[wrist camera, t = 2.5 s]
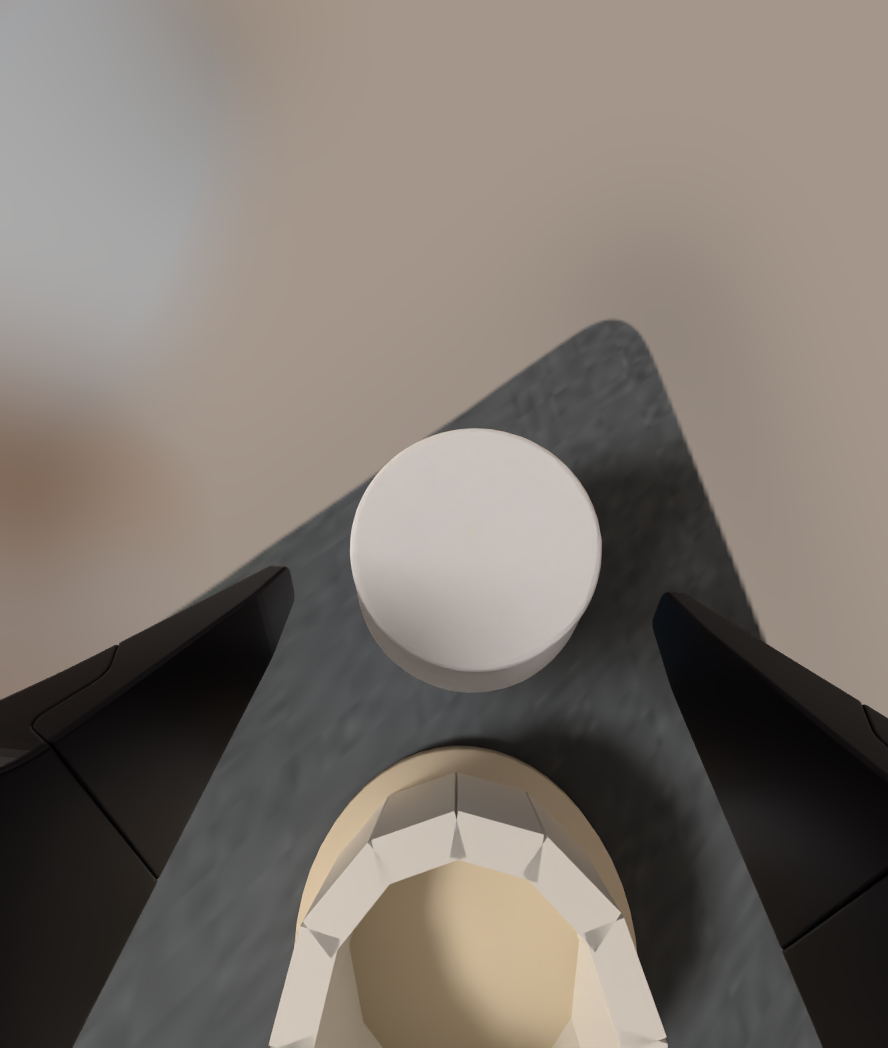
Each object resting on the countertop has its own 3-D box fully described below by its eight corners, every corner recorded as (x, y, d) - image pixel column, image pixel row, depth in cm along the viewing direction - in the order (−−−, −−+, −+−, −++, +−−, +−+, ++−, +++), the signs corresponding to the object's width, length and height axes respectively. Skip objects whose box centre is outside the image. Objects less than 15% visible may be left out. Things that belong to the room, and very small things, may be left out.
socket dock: (477, 1273, 12) (488, 1614, 8) (237, 932, 14) (149, 1050, 10) (694, 920, 14) (792, 1038, 10) (452, 681, 17) (451, 695, 13)
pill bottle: (529, 536, 18) (630, 393, 8) (532, 671, 17) (670, 732, 6) (403, 532, 19) (331, 389, 8) (394, 665, 17) (285, 714, 6)
